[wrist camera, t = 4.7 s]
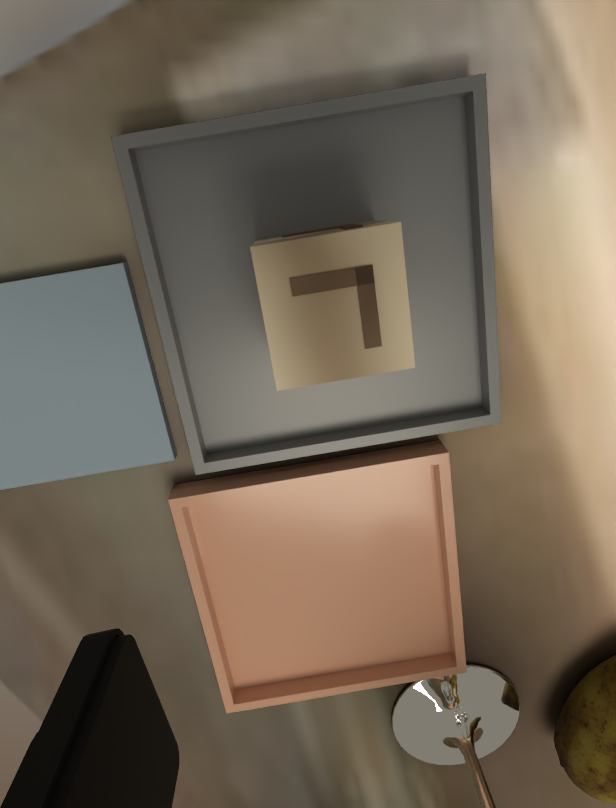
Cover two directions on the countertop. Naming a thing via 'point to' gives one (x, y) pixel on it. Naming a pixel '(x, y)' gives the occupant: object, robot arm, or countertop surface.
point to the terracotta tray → (325, 574)
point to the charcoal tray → (310, 210)
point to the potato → (590, 733)
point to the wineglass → (457, 720)
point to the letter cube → (335, 303)
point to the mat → (76, 379)
